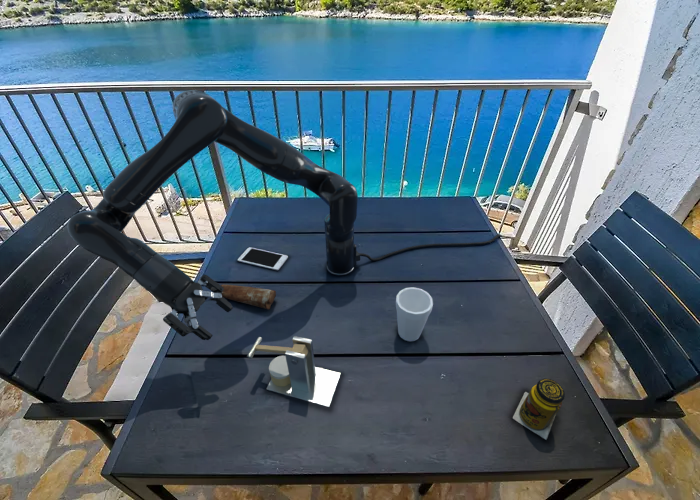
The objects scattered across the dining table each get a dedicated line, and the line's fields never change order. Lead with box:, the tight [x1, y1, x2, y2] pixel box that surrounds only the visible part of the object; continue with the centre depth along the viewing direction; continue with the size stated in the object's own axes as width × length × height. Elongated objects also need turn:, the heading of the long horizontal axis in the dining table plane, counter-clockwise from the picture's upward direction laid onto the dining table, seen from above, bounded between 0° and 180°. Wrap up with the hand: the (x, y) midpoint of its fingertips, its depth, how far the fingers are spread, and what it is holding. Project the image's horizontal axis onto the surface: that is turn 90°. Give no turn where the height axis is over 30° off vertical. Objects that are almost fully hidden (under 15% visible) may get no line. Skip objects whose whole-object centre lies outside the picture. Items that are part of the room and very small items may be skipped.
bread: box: [220, 283, 277, 310], centre depth 106 cm, size 6×19×6 cm, turn 72°
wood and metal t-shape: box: [246, 336, 308, 360], centre depth 80 cm, size 14×6×2 cm, turn 74°
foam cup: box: [395, 286, 434, 342], centre depth 94 cm, size 10×9×13 cm
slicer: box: [266, 335, 341, 408], centre depth 81 cm, size 16×9×15 cm, turn 74°
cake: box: [268, 355, 291, 386], centre depth 85 cm, size 6×6×4 cm
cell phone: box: [237, 246, 289, 271], centre depth 123 cm, size 8×16×1 cm, turn 71°
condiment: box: [512, 378, 566, 440], centre depth 76 cm, size 7×8×12 cm
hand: (220, 323), depth 81 cm, fingers open, 8 cm apart
